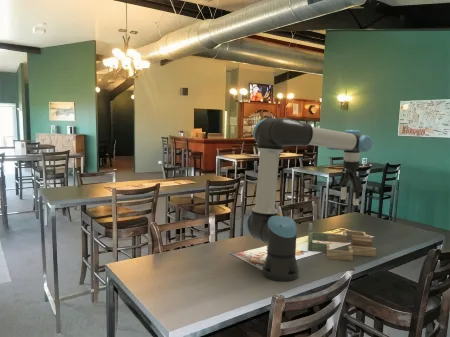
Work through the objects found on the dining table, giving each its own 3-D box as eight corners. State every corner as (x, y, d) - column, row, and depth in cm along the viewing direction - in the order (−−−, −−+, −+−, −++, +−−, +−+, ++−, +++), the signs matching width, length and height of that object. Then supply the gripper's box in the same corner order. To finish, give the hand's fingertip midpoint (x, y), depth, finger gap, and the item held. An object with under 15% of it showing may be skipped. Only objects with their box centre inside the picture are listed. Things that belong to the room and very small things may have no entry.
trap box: (378, 263, 163) (380, 244, 162) (307, 256, 170) (308, 238, 169) (366, 239, 198) (367, 223, 197) (308, 234, 205) (309, 218, 204)
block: (371, 253, 176) (372, 241, 175) (351, 251, 179) (352, 239, 178) (369, 247, 185) (369, 236, 184) (350, 245, 187) (351, 234, 186)
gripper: (371, 163, 168) (369, 207, 171) (346, 158, 193) (345, 196, 195) (356, 163, 167) (354, 207, 170) (333, 158, 192) (331, 197, 195)
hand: (349, 202), depth 183 cm, fingers open, 13 cm apart
